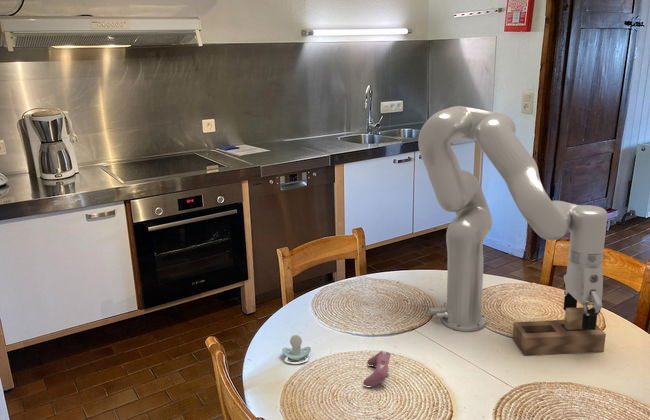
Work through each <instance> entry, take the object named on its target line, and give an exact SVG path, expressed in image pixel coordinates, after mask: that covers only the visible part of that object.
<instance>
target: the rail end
mask: <svg viewBox="0 0 650 420" xmlns="http://www.w3.org/2000/svg"><path fill="white" fill-rule="evenodd" d="M591 308H592V307H590V306H588V309H589V310H590V309H591ZM564 313H565V314H564V320H565V322H564V329H565V330H566V331H584V330H591V329H583V328H582V320H583V314H585V311H584V307H583V306H581V307H577V308H566V311H565V312H564Z"/></svg>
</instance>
